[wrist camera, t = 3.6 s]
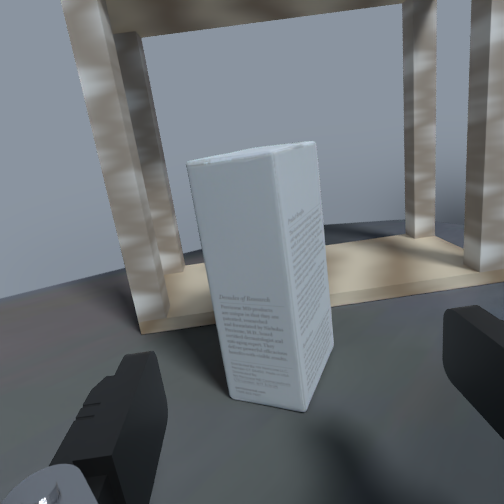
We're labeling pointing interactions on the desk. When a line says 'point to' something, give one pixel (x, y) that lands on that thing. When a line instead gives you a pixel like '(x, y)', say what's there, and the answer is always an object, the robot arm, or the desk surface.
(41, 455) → the desk surface
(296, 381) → the skincare box
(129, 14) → the oak counter shelf
